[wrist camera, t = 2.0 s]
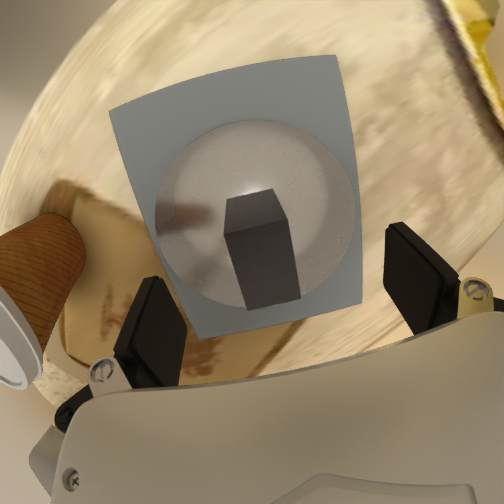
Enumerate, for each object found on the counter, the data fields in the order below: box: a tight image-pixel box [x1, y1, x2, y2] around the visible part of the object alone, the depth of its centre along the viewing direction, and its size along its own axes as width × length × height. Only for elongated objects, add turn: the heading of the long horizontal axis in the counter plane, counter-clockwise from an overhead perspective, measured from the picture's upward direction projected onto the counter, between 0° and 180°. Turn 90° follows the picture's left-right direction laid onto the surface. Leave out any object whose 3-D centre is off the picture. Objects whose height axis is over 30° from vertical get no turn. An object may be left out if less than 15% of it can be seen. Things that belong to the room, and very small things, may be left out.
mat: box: [108, 55, 362, 340], centre depth 18 cm, size 20×15×1 cm
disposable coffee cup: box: [0, 213, 85, 390], centre depth 13 cm, size 10×10×12 cm
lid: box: [155, 120, 355, 311], centre depth 15 cm, size 13×13×6 cm
